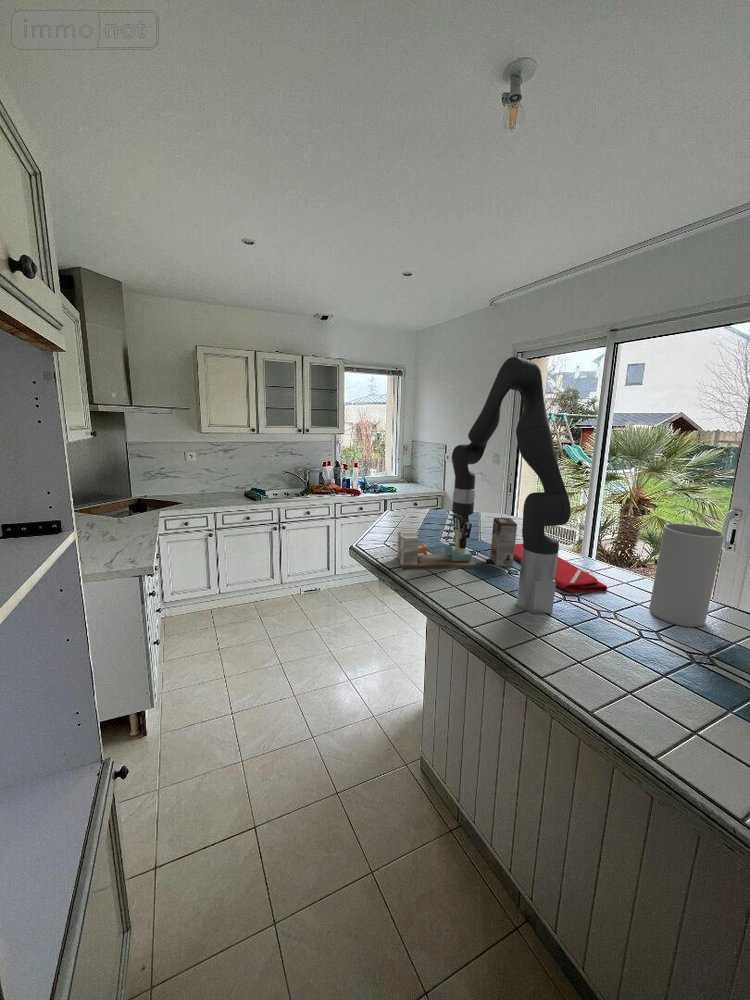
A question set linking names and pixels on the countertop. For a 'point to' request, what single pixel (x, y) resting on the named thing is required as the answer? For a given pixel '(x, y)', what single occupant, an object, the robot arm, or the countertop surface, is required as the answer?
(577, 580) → the folded red towel
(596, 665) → the countertop surface
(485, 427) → the robot arm
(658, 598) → the cylinder vase
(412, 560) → the rail bench
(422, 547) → the button
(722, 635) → the countertop surface
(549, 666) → the countertop surface
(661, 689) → the countertop surface
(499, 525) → the coffee box
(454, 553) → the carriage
